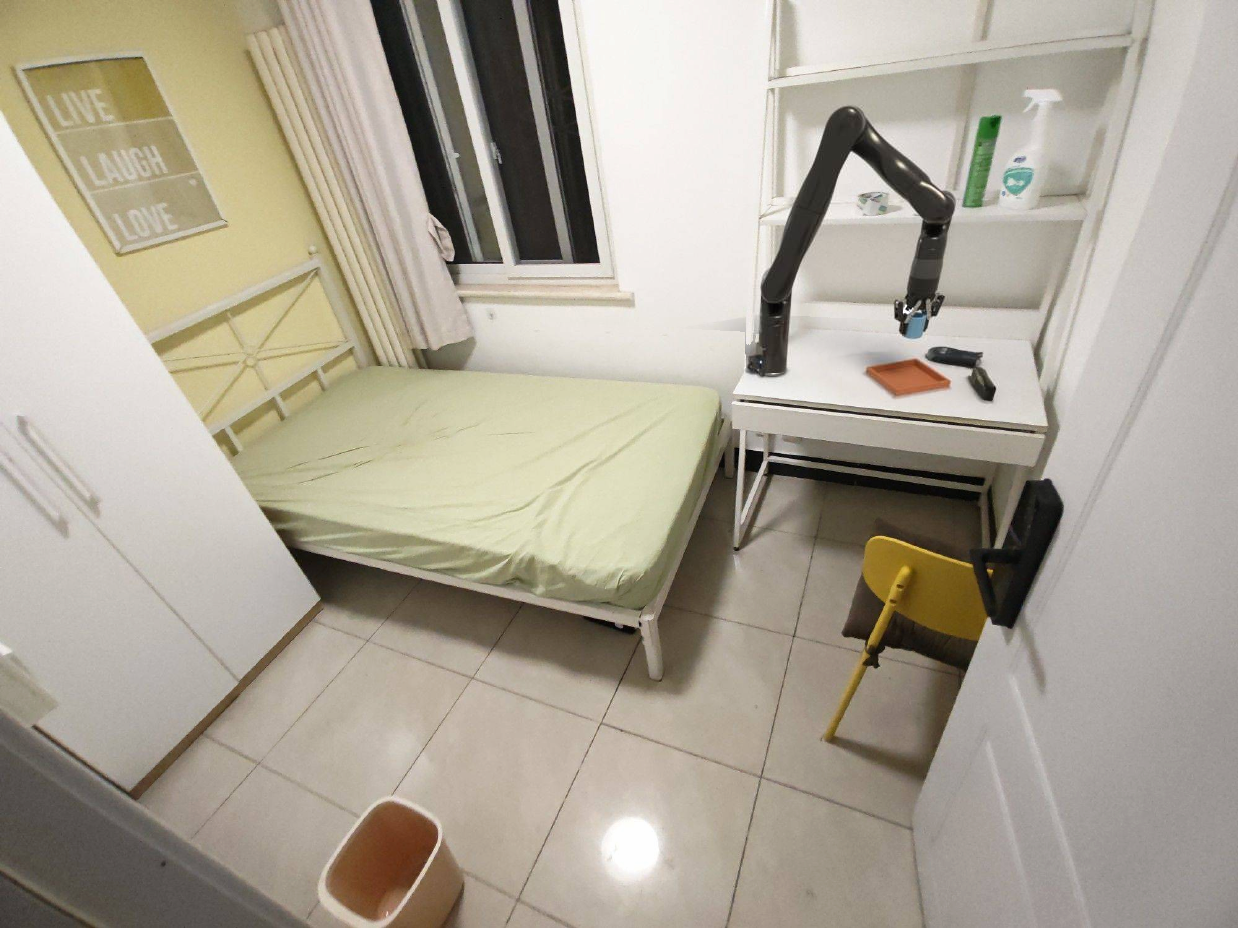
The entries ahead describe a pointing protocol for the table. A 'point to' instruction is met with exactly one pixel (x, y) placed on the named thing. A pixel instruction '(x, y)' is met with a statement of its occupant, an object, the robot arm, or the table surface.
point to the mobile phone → (982, 384)
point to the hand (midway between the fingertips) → (912, 332)
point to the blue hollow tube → (916, 326)
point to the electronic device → (954, 356)
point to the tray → (907, 377)
